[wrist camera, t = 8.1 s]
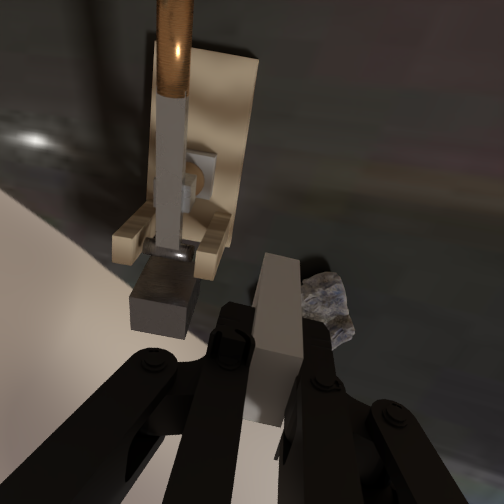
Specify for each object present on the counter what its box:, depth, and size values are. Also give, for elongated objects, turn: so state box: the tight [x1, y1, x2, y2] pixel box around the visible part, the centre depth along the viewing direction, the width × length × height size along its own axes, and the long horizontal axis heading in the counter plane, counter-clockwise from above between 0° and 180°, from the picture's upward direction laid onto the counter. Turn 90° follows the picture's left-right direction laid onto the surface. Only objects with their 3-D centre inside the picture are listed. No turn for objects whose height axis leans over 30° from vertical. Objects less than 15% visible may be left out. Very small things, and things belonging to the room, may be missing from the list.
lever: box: [129, 0, 201, 340], centre depth 39 cm, size 32×6×8 cm, turn 171°
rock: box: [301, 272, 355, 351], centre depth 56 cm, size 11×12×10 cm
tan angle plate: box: [112, 41, 259, 281], centre depth 44 cm, size 22×11×13 cm, turn 171°
